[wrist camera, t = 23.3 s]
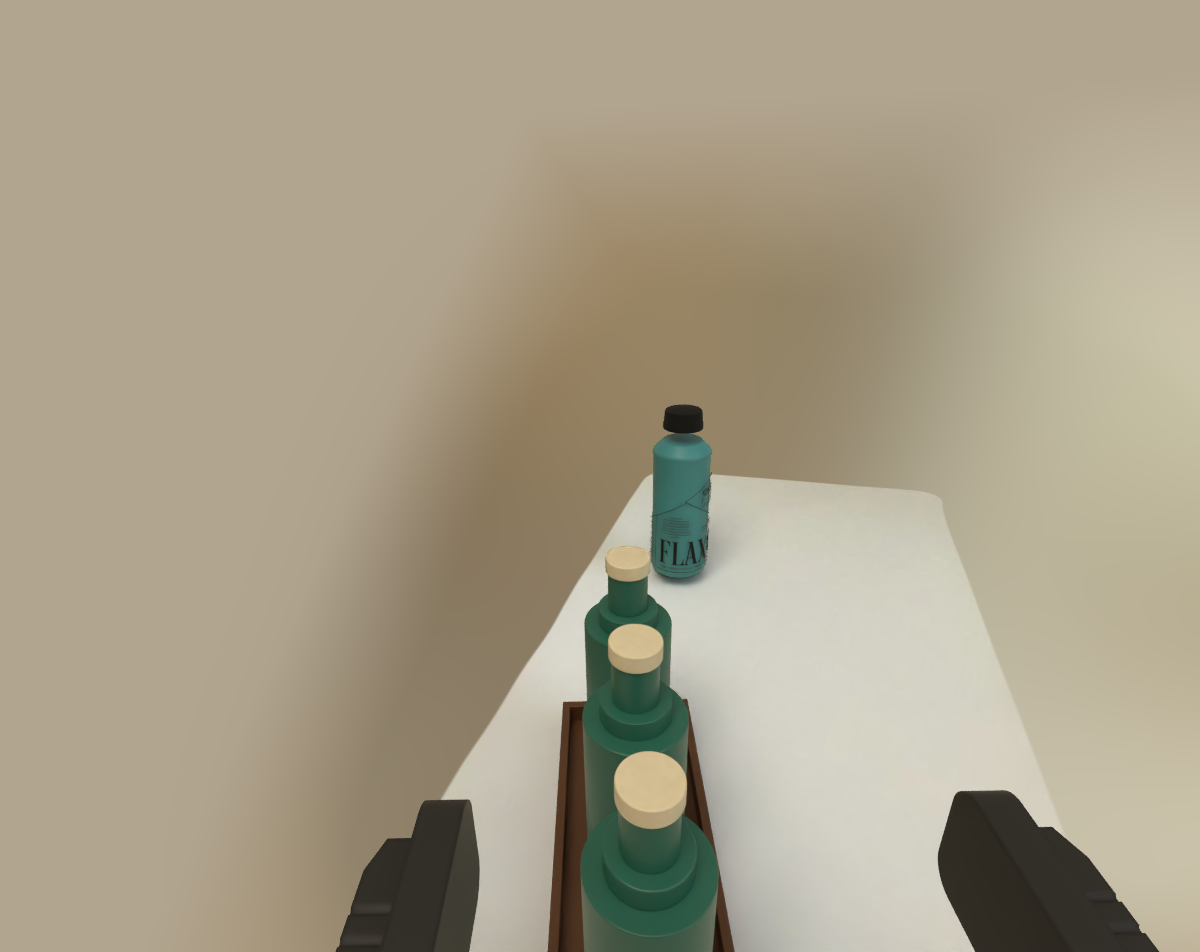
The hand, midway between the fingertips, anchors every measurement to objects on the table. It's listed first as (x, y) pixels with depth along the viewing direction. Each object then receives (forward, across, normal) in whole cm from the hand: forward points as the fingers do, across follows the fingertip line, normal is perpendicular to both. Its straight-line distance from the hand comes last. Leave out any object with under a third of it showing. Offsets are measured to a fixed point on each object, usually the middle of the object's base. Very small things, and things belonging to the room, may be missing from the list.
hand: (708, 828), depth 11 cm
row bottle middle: (+20, 0, +30) cm, 35 cm away
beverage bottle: (+55, -7, +30) cm, 63 cm away
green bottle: (+11, 0, +30) cm, 31 cm away
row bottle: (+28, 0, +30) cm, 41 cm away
